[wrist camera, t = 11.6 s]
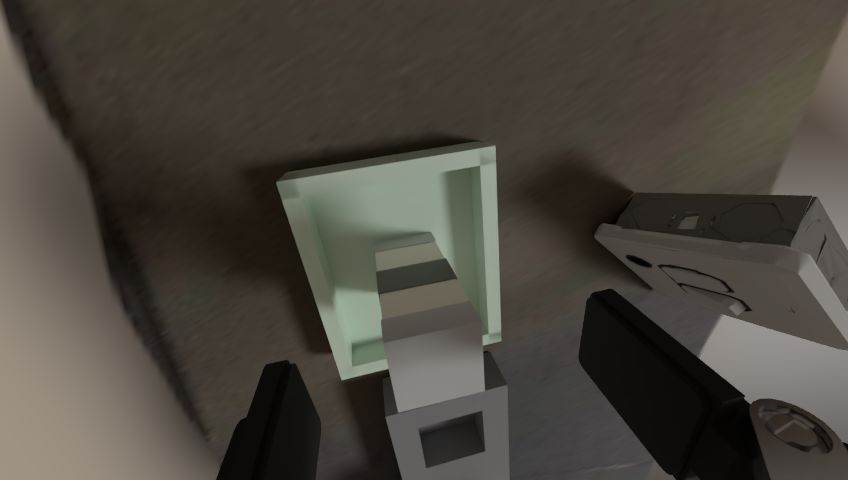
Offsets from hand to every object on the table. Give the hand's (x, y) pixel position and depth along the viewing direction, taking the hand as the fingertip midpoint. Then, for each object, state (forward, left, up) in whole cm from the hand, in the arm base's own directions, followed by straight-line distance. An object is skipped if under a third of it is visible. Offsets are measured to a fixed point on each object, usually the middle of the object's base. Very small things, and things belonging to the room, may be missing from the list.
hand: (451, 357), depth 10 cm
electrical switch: (+3, +17, -9) cm, 19 cm away
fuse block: (+18, +1, -9) cm, 20 cm away
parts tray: (+1, 0, -9) cm, 9 cm away
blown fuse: (+1, 0, -9) cm, 9 cm away
